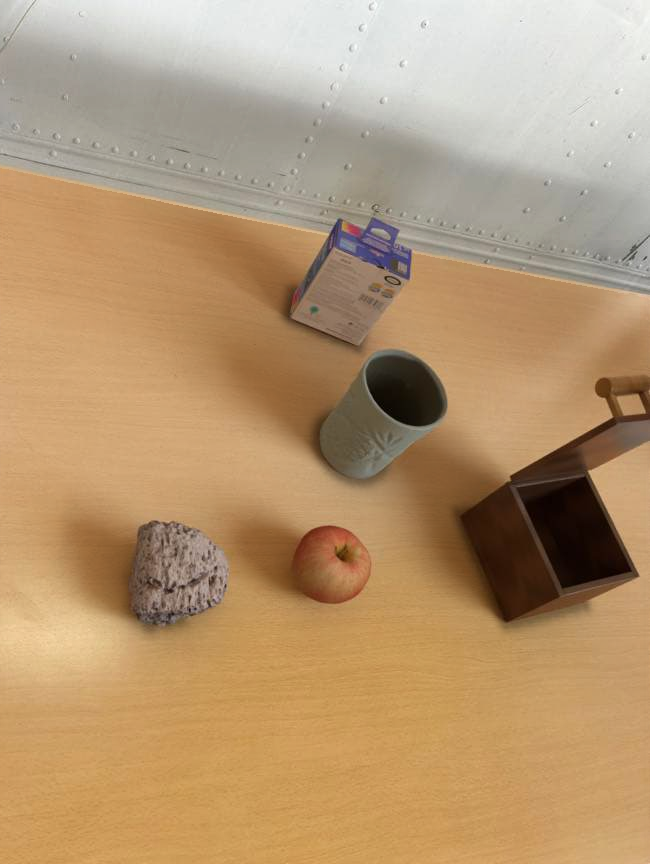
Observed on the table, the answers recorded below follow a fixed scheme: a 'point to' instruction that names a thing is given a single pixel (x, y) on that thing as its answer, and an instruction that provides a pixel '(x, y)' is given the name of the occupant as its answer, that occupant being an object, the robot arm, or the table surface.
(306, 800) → the table surface
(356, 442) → the grey green ceramic cup
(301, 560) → the apple
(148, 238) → the table surface
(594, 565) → the chest
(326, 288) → the ink cartridge box
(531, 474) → the lid
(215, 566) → the pumice stone
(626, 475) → the table surface
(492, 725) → the table surface
